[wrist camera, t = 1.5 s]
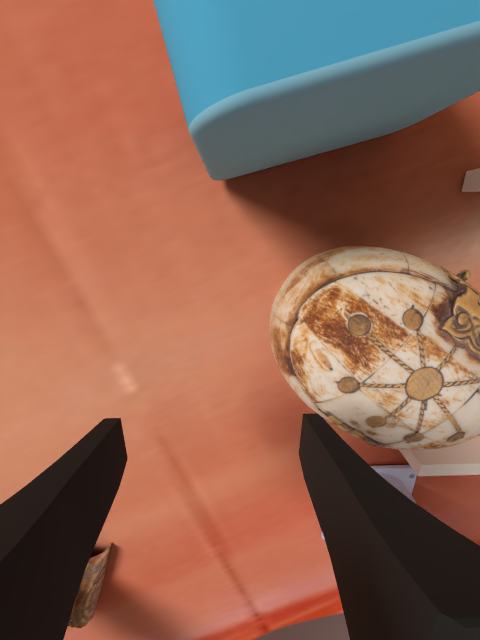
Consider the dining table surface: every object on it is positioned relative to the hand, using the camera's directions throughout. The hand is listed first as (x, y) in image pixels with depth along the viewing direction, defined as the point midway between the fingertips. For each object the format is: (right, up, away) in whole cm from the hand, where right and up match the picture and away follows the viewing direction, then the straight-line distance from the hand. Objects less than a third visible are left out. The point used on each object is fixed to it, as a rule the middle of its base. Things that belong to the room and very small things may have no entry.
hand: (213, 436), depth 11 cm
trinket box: (+10, +4, +11) cm, 15 cm away
